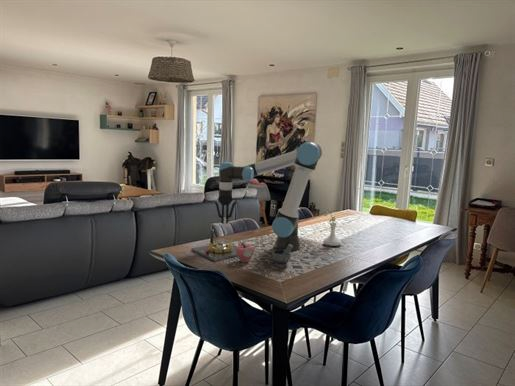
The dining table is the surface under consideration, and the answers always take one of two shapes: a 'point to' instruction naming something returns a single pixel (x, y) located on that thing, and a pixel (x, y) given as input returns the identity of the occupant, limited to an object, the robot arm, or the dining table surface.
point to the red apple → (245, 252)
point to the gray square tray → (215, 256)
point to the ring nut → (218, 249)
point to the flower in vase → (331, 239)
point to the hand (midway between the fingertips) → (224, 228)
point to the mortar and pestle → (282, 256)
